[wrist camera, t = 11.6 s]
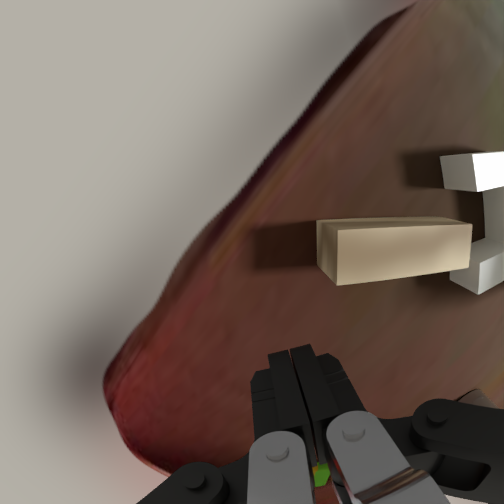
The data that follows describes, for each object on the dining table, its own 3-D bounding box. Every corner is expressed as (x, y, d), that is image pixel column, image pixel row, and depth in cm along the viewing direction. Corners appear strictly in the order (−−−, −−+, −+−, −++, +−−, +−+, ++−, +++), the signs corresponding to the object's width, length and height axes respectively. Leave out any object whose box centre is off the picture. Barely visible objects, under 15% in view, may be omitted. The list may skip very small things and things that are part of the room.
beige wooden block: (434, 253, 22) (468, 267, 18) (316, 264, 22) (336, 285, 17) (436, 215, 22) (472, 224, 17) (315, 219, 21) (337, 230, 16)
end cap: (494, 259, 23) (521, 270, 19) (449, 279, 23) (478, 294, 19) (487, 151, 20) (516, 151, 16) (439, 156, 20) (472, 154, 16)
